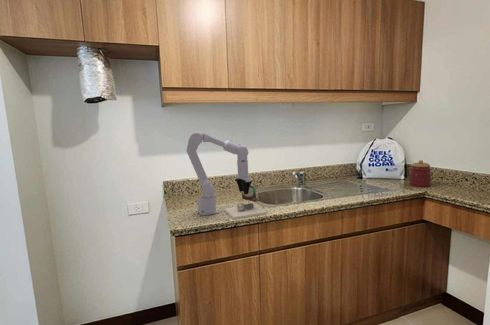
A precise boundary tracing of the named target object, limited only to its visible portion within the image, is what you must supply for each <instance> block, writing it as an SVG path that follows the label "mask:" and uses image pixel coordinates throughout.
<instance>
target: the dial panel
mask: <svg viewBox="0 0 490 325" xmlns="http://www.w3.org/2000/svg"><path fill="white" fill-rule="evenodd" d="M253 205H254V208H252V209H245V210H244V211H238V209H237V206H233V207H227V208H223V211H224V212H225V214H227V215H228V216H229V218H231V220H233V221H234V220H238V219H239V220H240V219H244V218H245V219H246V218H252V217H257V216H262V215H263V216H264V215H267V211H265V210H264V209H263V208H261V207H259V206H257V205H256V204H255V203H253Z"/></svg>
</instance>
